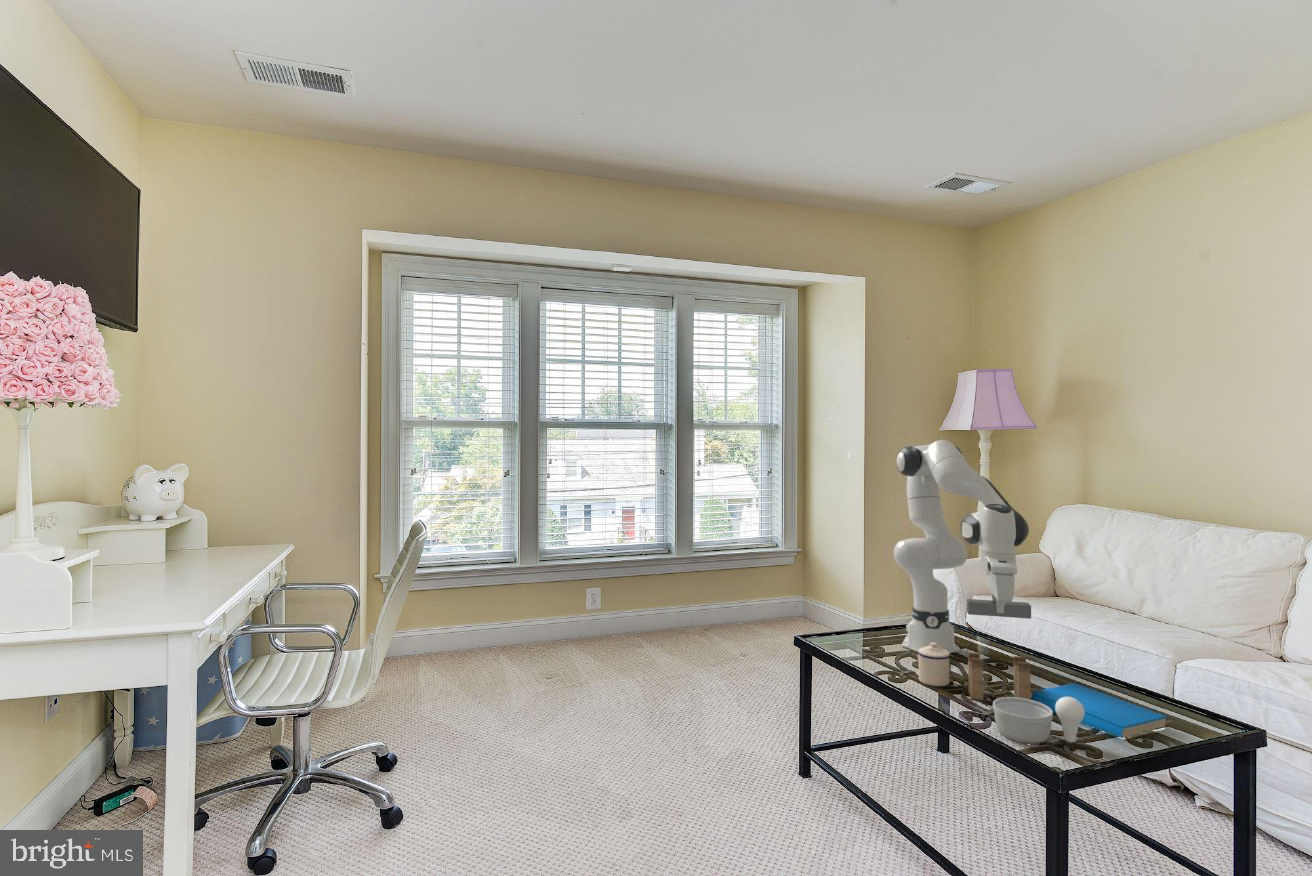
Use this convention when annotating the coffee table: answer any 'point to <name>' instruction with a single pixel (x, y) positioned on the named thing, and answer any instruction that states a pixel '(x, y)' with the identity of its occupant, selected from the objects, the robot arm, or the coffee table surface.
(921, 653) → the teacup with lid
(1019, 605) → the rail
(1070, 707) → the lightbulb
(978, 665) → the post
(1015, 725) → the ramekin
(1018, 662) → the post
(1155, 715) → the book
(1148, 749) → the coffee table surface
